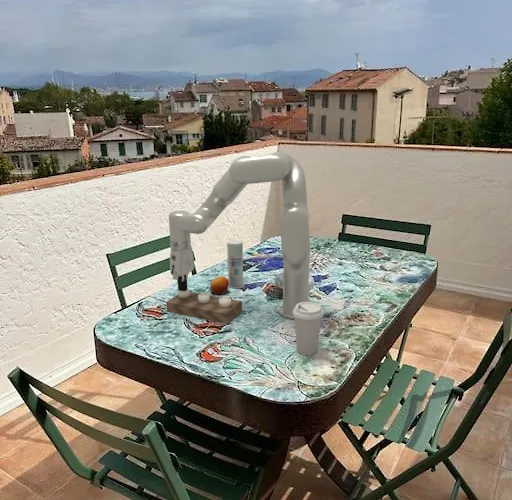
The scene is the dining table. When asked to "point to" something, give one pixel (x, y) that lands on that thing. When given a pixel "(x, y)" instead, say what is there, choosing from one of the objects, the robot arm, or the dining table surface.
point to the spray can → (235, 263)
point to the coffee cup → (307, 326)
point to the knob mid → (204, 298)
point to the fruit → (219, 285)
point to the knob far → (183, 294)
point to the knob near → (224, 302)
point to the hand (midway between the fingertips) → (182, 289)
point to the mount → (204, 308)
